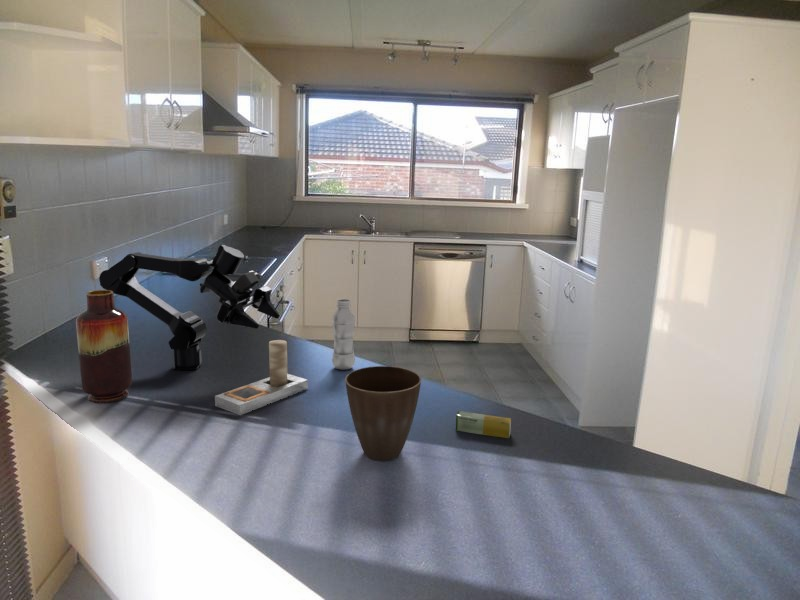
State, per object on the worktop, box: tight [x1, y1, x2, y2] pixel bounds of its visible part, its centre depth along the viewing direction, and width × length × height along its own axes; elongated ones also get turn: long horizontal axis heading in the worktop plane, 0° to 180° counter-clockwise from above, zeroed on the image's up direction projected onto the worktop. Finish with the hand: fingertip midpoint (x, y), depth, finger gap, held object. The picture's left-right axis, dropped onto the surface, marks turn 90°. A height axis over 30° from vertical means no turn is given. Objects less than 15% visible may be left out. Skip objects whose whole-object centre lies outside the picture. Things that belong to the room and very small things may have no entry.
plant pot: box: [344, 365, 422, 462], centre depth 119 cm, size 15×15×16 cm
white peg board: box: [214, 373, 309, 416], centre depth 149 cm, size 22×9×3 cm, turn 144°
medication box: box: [454, 410, 512, 439], centre depth 132 cm, size 12×3×4 cm, turn 73°
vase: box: [75, 289, 133, 404], centre depth 144 cm, size 11×11×26 cm
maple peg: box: [268, 339, 288, 387], centre depth 152 cm, size 4×4×13 cm
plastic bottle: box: [331, 298, 356, 370], centre depth 170 cm, size 6×7×20 cm
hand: (268, 322), depth 159 cm, fingers open, 9 cm apart
